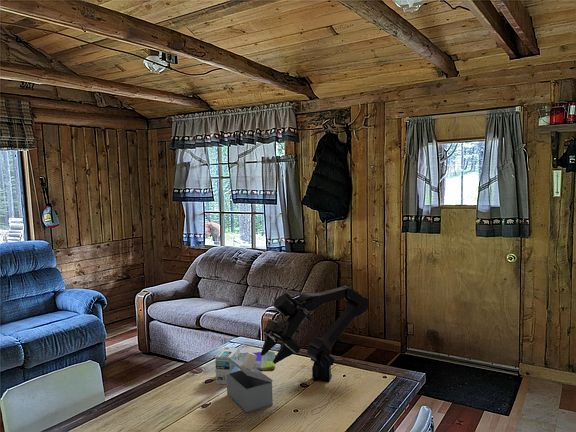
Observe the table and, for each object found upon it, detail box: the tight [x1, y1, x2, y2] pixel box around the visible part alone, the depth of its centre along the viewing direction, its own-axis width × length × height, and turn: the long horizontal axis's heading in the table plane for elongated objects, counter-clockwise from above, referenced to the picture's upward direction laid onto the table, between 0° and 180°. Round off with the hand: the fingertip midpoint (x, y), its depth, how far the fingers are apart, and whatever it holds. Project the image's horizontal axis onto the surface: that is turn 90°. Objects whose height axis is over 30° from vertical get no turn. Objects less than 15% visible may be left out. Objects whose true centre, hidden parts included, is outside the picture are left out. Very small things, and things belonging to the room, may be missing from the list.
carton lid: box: [228, 351, 274, 384], centre depth 161 cm, size 10×16×6 cm, turn 31°
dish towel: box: [239, 350, 277, 372], centre depth 194 cm, size 18×24×3 cm
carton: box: [226, 370, 274, 414], centre depth 160 cm, size 10×16×8 cm, turn 31°
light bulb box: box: [214, 346, 241, 385], centre depth 179 cm, size 11×7×11 cm, turn 169°
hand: (267, 359), depth 164 cm, fingers open, 9 cm apart
